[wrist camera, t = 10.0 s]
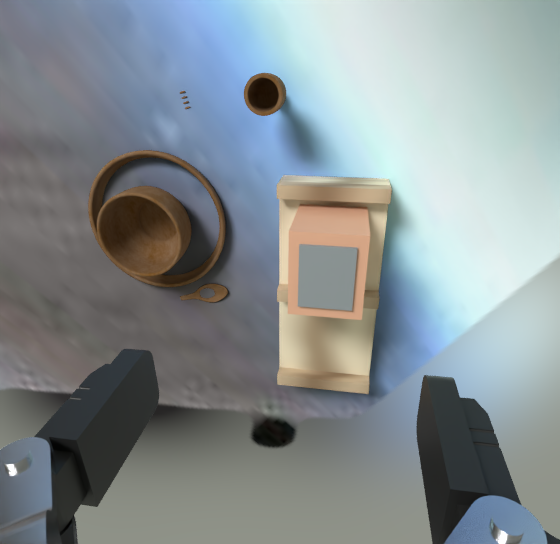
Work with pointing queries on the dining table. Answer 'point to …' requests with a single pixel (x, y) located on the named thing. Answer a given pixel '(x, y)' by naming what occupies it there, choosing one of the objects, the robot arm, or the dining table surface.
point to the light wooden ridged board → (325, 330)
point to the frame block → (328, 261)
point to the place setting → (164, 211)
